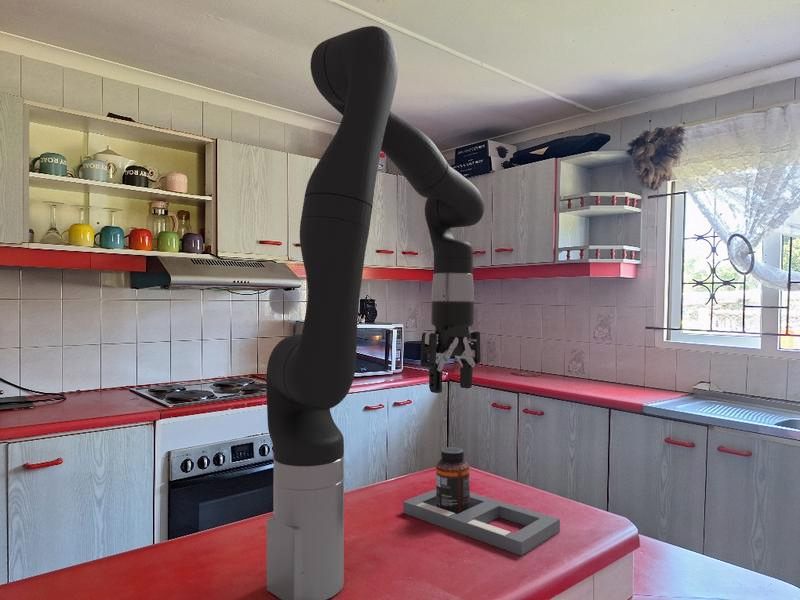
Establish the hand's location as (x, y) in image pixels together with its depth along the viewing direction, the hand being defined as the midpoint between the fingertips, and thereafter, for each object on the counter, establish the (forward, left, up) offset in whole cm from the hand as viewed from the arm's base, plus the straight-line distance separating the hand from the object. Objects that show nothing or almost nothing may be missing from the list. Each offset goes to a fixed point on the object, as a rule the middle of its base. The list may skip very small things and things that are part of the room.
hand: (451, 390), depth 99 cm
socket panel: (0, -6, -22) cm, 23 cm away
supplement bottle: (0, 0, -22) cm, 22 cm away
